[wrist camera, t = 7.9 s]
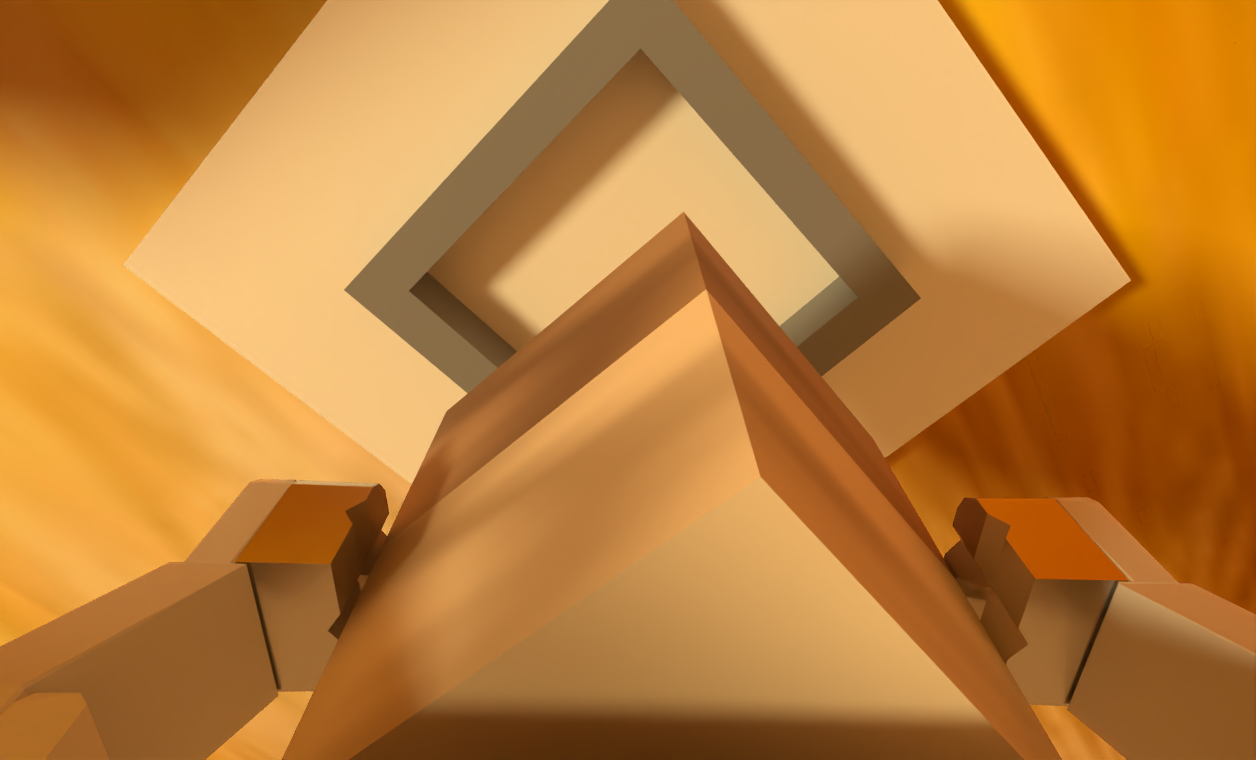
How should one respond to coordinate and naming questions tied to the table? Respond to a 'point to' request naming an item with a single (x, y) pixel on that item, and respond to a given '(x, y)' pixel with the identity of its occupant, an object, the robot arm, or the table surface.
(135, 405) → the table surface
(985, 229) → the base plate
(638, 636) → the tan rectangular block
